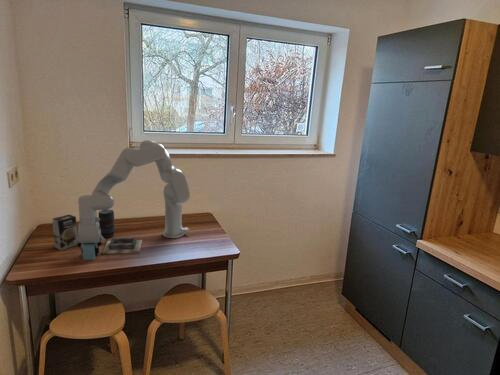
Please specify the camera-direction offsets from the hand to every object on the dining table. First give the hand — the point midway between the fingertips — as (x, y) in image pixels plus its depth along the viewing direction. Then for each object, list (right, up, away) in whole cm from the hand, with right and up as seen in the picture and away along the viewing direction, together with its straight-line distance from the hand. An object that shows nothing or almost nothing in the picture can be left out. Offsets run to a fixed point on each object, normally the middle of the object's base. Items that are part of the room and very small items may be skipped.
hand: (90, 254), depth 165 cm
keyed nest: (+12, +1, +12) cm, 17 cm away
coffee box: (-17, +2, +10) cm, 20 cm away
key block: (0, -1, 0) cm, 1 cm away
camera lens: (-2, +5, +25) cm, 25 cm away
